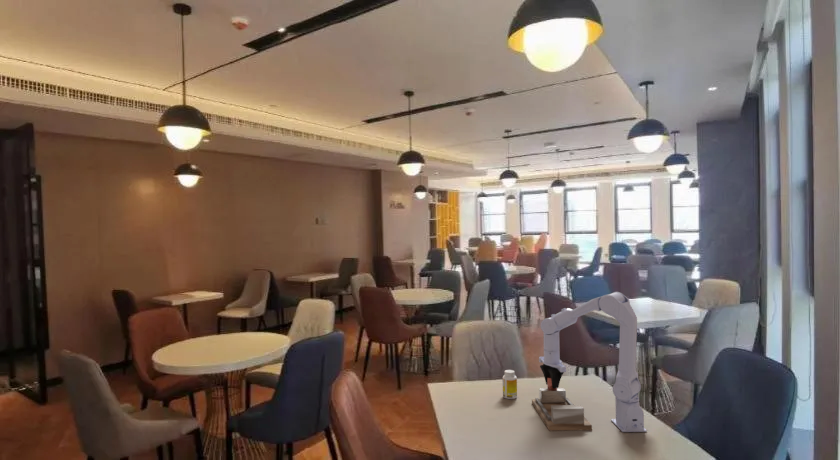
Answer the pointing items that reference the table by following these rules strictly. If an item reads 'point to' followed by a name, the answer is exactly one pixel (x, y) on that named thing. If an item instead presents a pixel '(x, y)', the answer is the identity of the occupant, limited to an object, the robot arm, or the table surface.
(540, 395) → the sliding jaw
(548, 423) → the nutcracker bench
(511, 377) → the supplement bottle
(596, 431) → the table surface
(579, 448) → the table surface
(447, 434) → the table surface
